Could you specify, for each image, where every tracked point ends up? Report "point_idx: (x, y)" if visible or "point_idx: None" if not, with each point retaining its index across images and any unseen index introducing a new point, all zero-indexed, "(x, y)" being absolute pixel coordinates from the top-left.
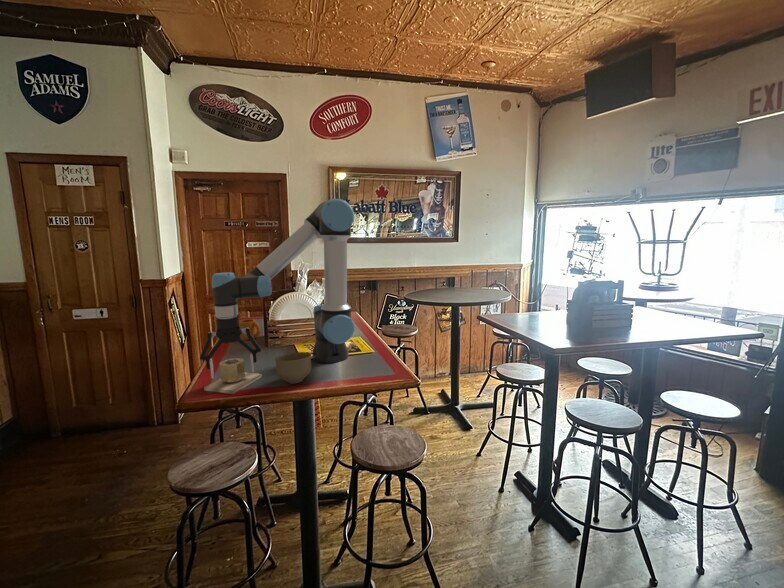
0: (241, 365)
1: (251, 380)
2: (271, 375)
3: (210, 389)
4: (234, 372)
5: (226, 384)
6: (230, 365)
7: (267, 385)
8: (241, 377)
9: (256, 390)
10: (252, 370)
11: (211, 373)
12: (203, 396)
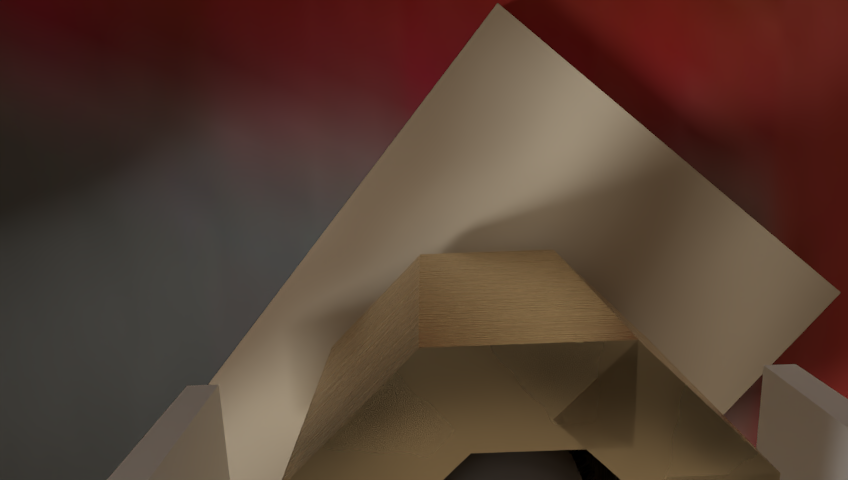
0: (336, 406)
1: (265, 310)
2: (49, 454)
3: (758, 228)
4: (471, 289)
5: None
6: (555, 341)
7: (71, 128)
8: (376, 305)
9: (201, 6)
10: (200, 398)
11: (842, 402)
12: (832, 86)
